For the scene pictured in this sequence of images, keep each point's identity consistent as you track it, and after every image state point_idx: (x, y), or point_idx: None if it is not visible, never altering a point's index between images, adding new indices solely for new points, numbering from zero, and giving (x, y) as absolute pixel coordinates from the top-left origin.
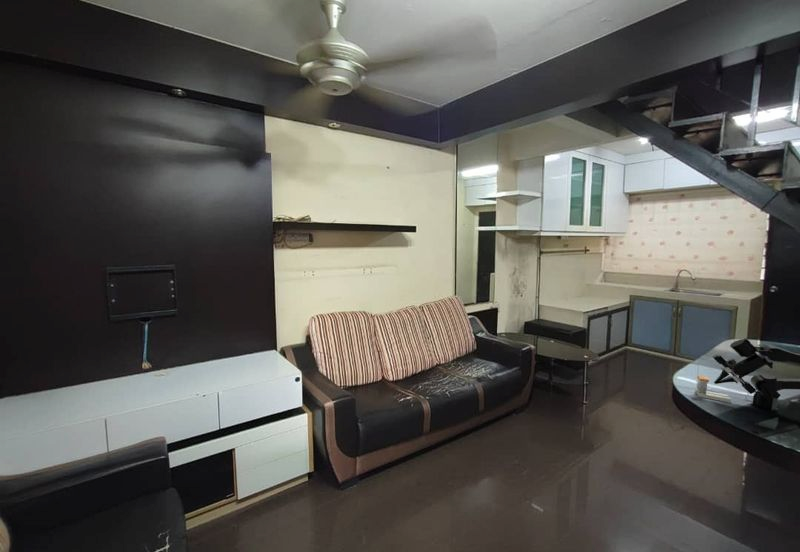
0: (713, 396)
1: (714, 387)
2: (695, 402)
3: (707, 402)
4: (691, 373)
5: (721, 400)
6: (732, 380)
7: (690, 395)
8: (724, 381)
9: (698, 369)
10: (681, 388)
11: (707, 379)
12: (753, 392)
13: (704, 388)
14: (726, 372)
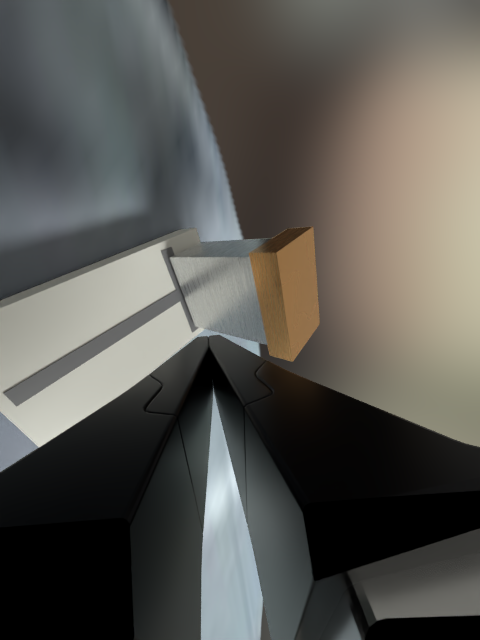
0: (113, 261)
1: None
2: (160, 40)
3: (104, 120)
4: (252, 549)
5: (36, 287)
6: (20, 502)
7: (208, 212)
8: (167, 375)
9: (246, 623)
10: None
11: (284, 261)
12: None
13: (209, 252)
14: (461, 487)
